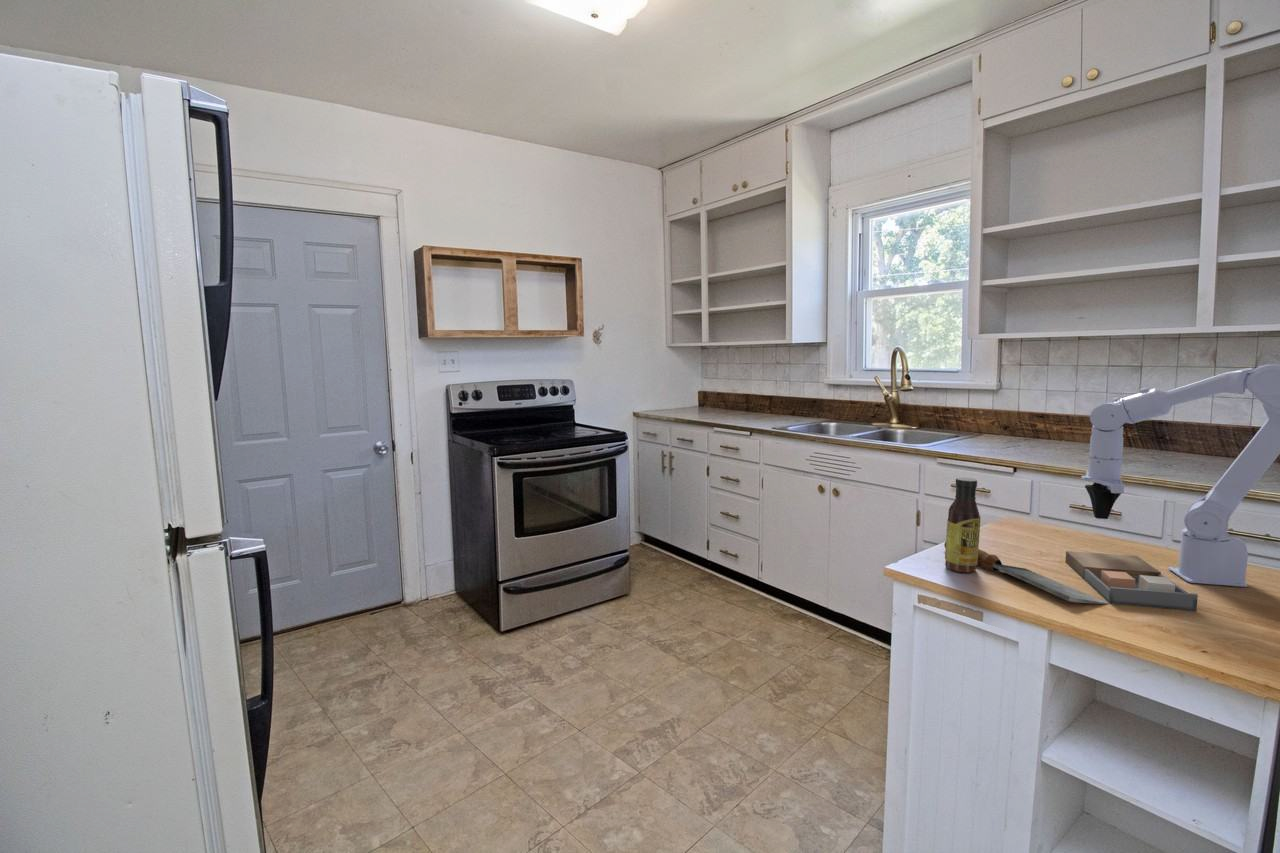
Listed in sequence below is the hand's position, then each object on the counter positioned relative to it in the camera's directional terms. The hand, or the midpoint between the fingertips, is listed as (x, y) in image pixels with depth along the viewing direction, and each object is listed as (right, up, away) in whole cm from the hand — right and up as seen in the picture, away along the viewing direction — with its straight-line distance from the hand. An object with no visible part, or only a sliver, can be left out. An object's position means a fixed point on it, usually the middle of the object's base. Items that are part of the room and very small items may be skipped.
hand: (1101, 518), depth 133 cm
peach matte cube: (-10, -8, -17) cm, 22 cm away
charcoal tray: (-7, -12, -18) cm, 23 cm away
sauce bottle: (-33, -11, -3) cm, 34 cm away
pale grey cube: (-5, -9, -20) cm, 22 cm away
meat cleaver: (-22, -12, -6) cm, 26 cm away
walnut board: (-3, -10, -7) cm, 13 cm away
